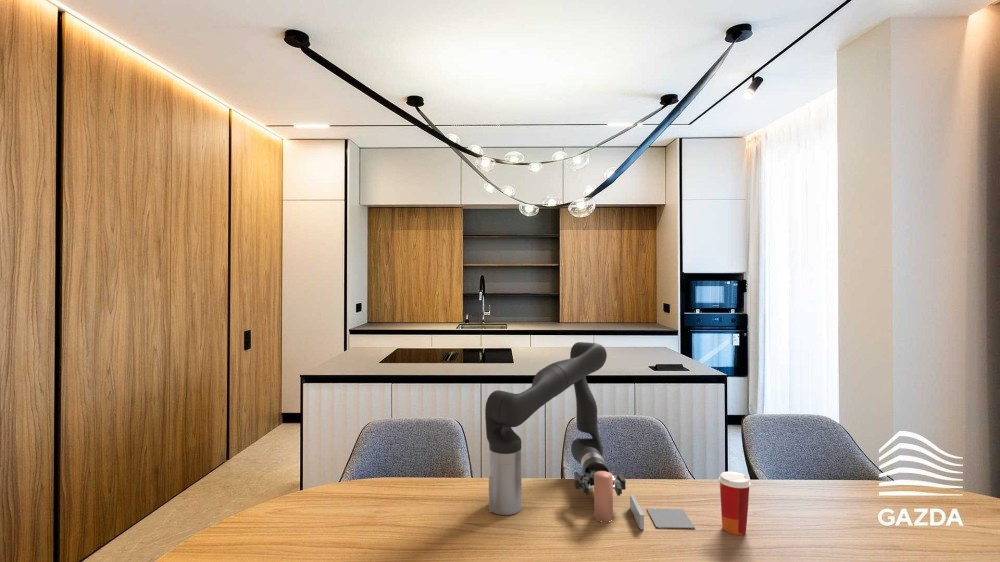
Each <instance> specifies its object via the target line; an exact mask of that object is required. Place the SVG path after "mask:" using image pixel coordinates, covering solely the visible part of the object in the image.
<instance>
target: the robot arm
mask: <svg viewBox="0 0 1000 562" xmlns="http://www.w3.org/2000/svg"><path fill="white" fill-rule="evenodd" d="M569 353H570V356H569V358H567V359H563V360H558V361H555V362H552V363H550V364H548V365H547V366H545V367H544V368H542V369H540V370H538V372H536V373H535V375H534V377H533V379H532V384H531V386H530V387H529V388H528V389H526V390H523V391H522V392H519V393H513V392H509V391H505V390H494V391H492V392H491V393H490V394H489V395H488V397H487V400H486V403H485V408H484V412H485V413H484V414H485V415H484V416H485V418H484V419H485V432H486V436H485V437H486V439H487V442H488V450H489V452H488V454H489V455H488V460H489V467H488V468H489V469H488V471H489V472H488V474H489V475H488V513H493V514H496V515H498V516H499V515H501V516H511V515H514V514H515V515H516V514H518V513H519V512H521V510H522V508H523V507H522V505H523V504H522V503H523V498H522V495H523V494H522V493H523V492H522V484H523V483H522V480H523V479H522V476H523V475H522V439H521V437H520V436H519V435H518V434H517V433H516V432H515V431H514V430H513V428H517V427H519V426H520V425H522V424H523V423H525V422H526V421H527V420H528V419H529V418H530V417H532V415H534V413H536V412H537V411H538V410H539V409H540V408H542V407H543V406H544V405H546V404H547V403H549V401H551V400H553V399H554V398H555V397H558V396H559V395H560V394H562V393H563V392H565V390H568V389H569V388H570V387H571V386H573V387H574V394H575V400H576V401H575V402H576V404H575V405H576V429H577V430H578V431H579V432H582V433H586V434H589V435H590V436H591V438H585V437H584V438H583V437H581V438H579V437H578V438H575V439H574V440H572V442H571V446H570V450H571V451H570V452H571V455H572V457H573V458H574V460H575V461H576V462H577V463H578V464H580V467H581V473H582V474H581V473H580V474H579V472H576V471H575V472H574V473H573V475H574V478H573V479H574V488H575V489H576V490H580V489H581V490H582V493H583V494H585V495H586V496H589V495H590V490H591V489H592V488H594V473H595V472H598V471H606V472H609V473H610V470H609V468H608V465H607V463H606V462H605V459H604V458H603V455H604V449H603V444H602V441H601V438H600V434H599V433H600V432H599V429H598V428H599V427H598V404H597V402H596V399H595V397H594V395H593V392H592V391H591V389H590V386H589V383H588V381H587V376H590V375H591V374H593V373H595V372H597V371H599V370H601V369H602V367H603V366H604V365H605V363H606V361H607V356H608V355H607V350H606V348H605V347H604V346H603V345H602V344H600V343H597V342H584V341H579V342H575V343H574V344H573V345H572V347H571V349H570V352H569ZM612 475H613V490H614V491H615V494H616V496H618V497H621V495H622V494H623V491H624V490H627V489H626V488H627V487H626V478H625V477H624V476H623V474H622V473H621V472H617V473H616V474H615V475H614V474H612Z"/></svg>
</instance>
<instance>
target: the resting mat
mask: <svg viewBox="0 0 1000 562" xmlns="http://www.w3.org/2000/svg"><path fill="white" fill-rule="evenodd" d="M646 511H647V514H648V515H649V517H650V516H651V517H650V519H651V518H652V519H651V520H653V521H652V523H653V522H654V523H653V524H655V525H654V527H655V526H656V527H661V528H660V529H667V528H688V529H687V530H695V529H696V527H695V525H694V524H693V522H692V521H691V520H690V517H689V516H688V515H687V513H686V512H685V510H684V509H683V508H646ZM656 527H655V528H656ZM689 528H691V529H689Z"/></svg>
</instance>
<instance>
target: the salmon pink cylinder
mask: <svg viewBox="0 0 1000 562" xmlns="http://www.w3.org/2000/svg"><path fill="white" fill-rule="evenodd" d="M613 475H614V474H613V473H611V472H610V471H609V472H606V471H598V472H595V473H594V486H593V490H594V493H593V498H594V499H593V501H594V502H593V507H594V508H593V515H594V516H593V517H595V518H594V520H595V519H596V520H595V521H597V520H598V521H602V522H608V523H610V522H609V521H611V520H612V519H613V518H614V489H613ZM598 521H597V522H598ZM612 521H613V520H612ZM612 521H611V522H612ZM602 522H601V523H602Z"/></svg>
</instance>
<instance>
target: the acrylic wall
mask: <svg viewBox="0 0 1000 562" xmlns="http://www.w3.org/2000/svg"><path fill="white" fill-rule="evenodd" d="M629 510H630V511H631V513H633V514H632V516H633V515H634V516H633V518H634V517H635V518H634V520H635V519H636V520H635V522H636V524H637V526H639V527H638V529H639V528H640V529H644V530H645V514H644V511H643V510H642V508H641V506H640V504H639V503H638V501H637V498H636V496H635V494H633V493H630V494H629ZM640 529H639V530H640Z"/></svg>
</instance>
